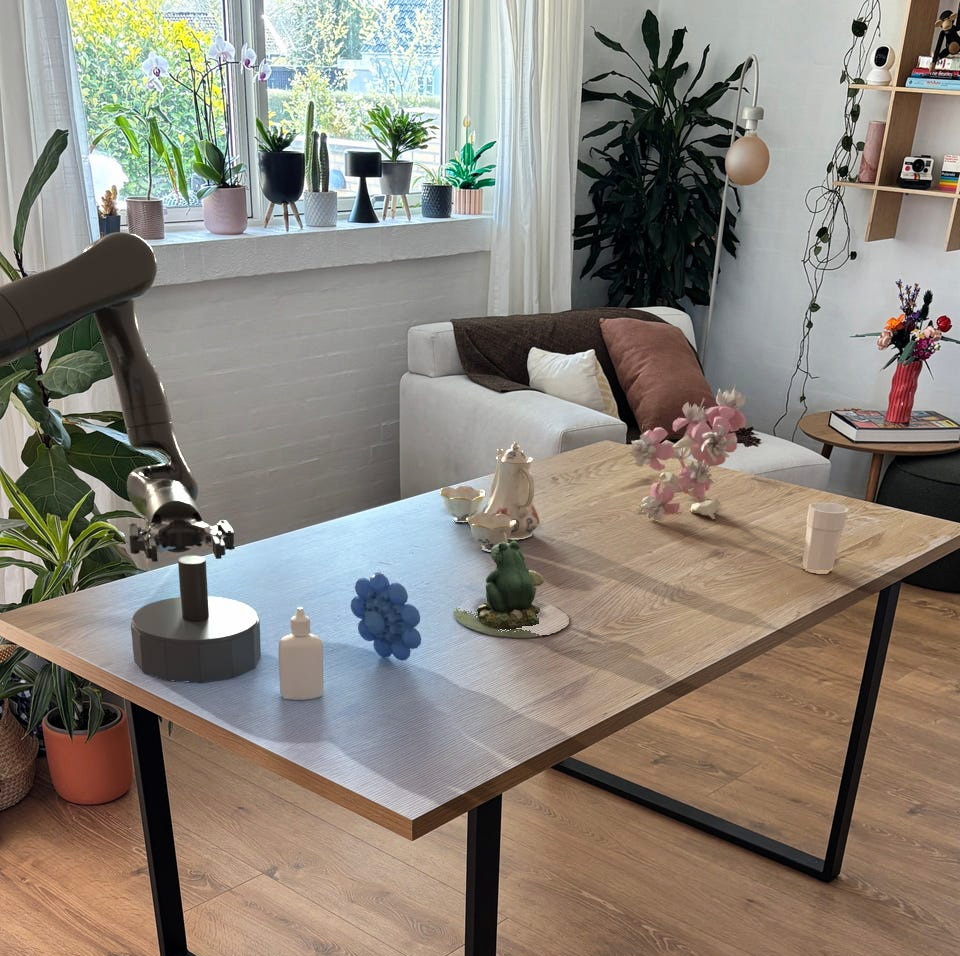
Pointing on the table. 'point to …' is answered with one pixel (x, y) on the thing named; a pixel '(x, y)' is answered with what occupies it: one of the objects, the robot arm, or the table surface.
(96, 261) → the robot arm
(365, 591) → the blue knobbed wheel
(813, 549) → the cup
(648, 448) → the flower
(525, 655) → the table surface
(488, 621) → the frog figurine
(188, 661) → the cover
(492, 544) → the chinaware
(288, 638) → the eye dropper bottle
